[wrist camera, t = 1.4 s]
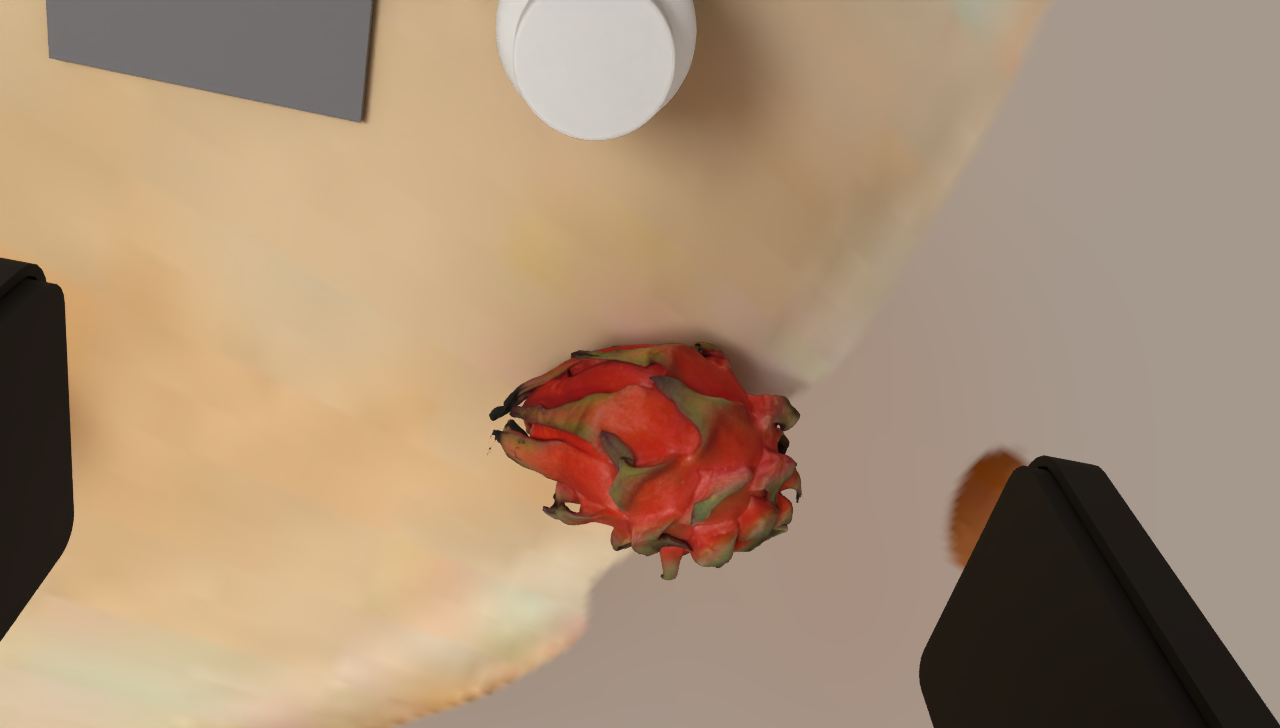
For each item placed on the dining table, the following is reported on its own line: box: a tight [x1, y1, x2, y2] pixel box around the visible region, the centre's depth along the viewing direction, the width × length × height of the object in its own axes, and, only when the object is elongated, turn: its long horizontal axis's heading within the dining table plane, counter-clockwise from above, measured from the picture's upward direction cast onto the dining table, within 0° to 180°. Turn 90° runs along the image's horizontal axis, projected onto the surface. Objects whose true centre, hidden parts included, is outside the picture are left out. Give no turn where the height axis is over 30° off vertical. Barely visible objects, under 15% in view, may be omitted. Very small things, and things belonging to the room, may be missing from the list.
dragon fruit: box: [487, 342, 802, 580], centre depth 38 cm, size 8×8×12 cm
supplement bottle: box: [496, 0, 697, 141], centre depth 29 cm, size 5×5×10 cm
